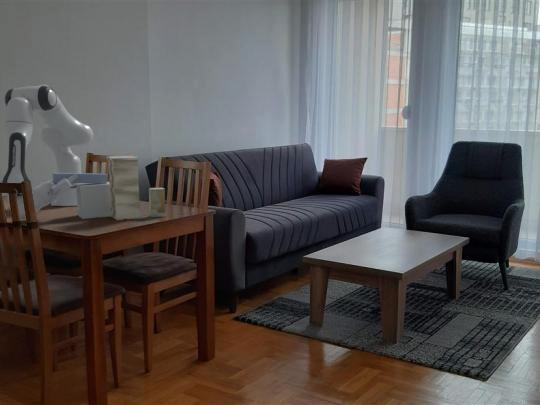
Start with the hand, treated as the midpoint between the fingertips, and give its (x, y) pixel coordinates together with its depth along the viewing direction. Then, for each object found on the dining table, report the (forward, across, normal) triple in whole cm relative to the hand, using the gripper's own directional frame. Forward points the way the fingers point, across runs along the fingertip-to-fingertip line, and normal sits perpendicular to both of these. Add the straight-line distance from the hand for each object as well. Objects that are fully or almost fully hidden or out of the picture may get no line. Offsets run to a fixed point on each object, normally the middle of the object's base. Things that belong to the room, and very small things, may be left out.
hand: (75, 174), depth 265 cm
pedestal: (+6, -11, +25) cm, 28 cm away
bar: (0, 0, +4) cm, 4 cm away
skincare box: (+17, -15, +32) cm, 39 cm away
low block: (-2, 0, +20) cm, 20 cm away
